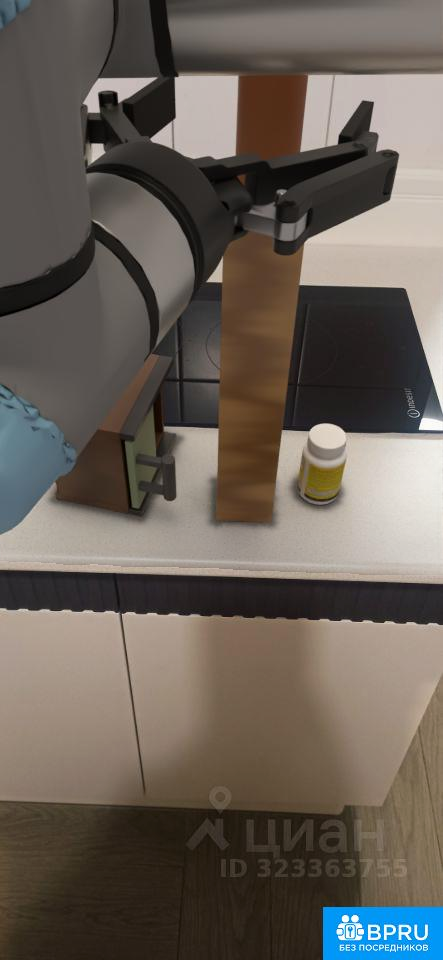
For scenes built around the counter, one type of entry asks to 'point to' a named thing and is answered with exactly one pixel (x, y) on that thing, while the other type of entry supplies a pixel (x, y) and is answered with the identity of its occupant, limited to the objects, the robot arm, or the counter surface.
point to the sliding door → (149, 466)
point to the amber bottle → (270, 115)
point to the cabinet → (120, 445)
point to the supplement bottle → (322, 464)
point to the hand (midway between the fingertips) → (264, 109)
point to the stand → (253, 373)
